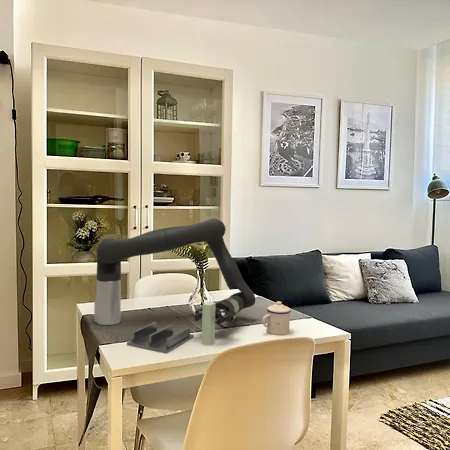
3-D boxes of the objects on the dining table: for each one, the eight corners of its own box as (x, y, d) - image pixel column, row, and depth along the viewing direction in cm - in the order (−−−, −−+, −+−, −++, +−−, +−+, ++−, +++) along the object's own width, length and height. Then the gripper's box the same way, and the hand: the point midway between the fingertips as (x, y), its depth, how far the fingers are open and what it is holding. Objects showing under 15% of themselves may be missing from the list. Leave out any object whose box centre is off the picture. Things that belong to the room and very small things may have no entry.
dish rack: (127, 344, 153) (127, 333, 153) (156, 330, 170) (156, 320, 169) (166, 353, 147) (167, 341, 146) (193, 337, 163) (193, 326, 162)
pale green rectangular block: (201, 343, 157) (202, 304, 156) (206, 340, 161) (207, 301, 159) (209, 344, 156) (210, 305, 154) (214, 341, 159) (215, 302, 158)
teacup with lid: (279, 326, 179) (280, 297, 178) (294, 333, 171) (296, 303, 170) (255, 330, 172) (256, 301, 172) (269, 338, 165) (270, 307, 164)
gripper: (209, 297, 173) (188, 306, 158) (243, 302, 167) (225, 312, 152) (208, 316, 174) (188, 327, 159) (242, 321, 168) (224, 334, 153)
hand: (206, 320), depth 156 cm, fingers open, 8 cm apart
